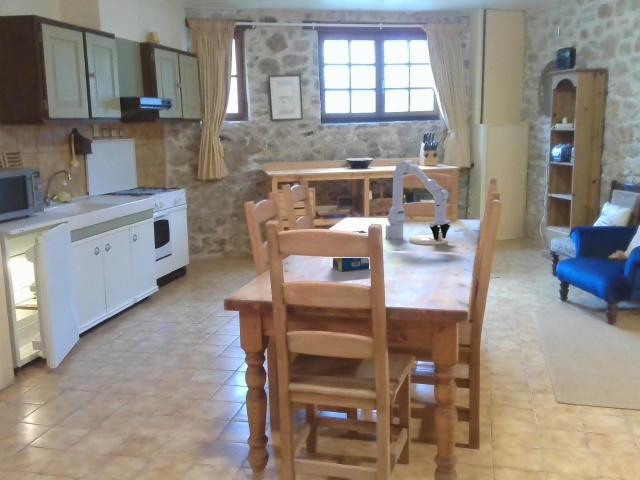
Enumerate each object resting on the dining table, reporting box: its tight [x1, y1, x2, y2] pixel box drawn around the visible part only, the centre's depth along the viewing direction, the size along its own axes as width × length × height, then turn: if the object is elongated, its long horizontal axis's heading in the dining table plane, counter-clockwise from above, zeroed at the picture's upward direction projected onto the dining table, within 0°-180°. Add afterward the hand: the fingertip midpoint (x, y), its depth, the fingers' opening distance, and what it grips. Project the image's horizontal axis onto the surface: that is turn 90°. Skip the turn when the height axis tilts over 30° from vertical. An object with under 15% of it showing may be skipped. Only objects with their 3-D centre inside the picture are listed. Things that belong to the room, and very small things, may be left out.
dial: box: [408, 231, 449, 246], centre depth 321 cm, size 20×20×6 cm
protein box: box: [332, 230, 369, 272], centre depth 269 cm, size 10×15×16 cm
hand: (439, 238), depth 315 cm, fingers open, 5 cm apart
